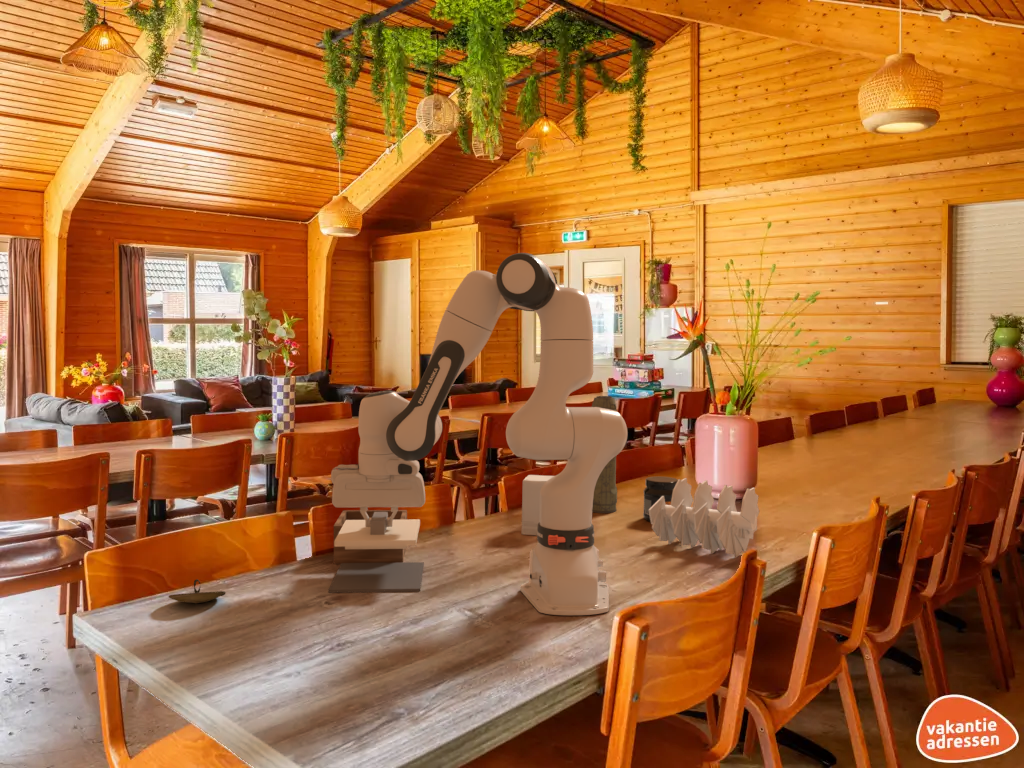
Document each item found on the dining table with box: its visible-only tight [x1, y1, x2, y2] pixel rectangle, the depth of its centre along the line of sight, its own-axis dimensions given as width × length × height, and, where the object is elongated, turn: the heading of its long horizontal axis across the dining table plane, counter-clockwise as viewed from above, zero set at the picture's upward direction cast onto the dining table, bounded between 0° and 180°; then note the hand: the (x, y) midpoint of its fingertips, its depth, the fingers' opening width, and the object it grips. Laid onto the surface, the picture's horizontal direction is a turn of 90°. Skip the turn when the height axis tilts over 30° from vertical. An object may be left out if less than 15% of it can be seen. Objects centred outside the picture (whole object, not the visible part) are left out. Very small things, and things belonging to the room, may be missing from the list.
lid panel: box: [333, 512, 421, 550], centre depth 176 cm, size 17×17×5 cm
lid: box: [168, 578, 227, 604], centre depth 158 cm, size 11×10×5 cm
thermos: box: [591, 395, 618, 514], centre depth 244 cm, size 9×12×35 cm
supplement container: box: [642, 476, 678, 523], centre depth 233 cm, size 10×10×12 cm
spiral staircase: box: [649, 477, 760, 559], centre depth 201 cm, size 18×18×25 cm
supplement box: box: [521, 474, 555, 536], centre depth 217 cm, size 9×9×15 cm
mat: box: [328, 561, 425, 594], centre depth 176 cm, size 19×19×1 cm
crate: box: [333, 509, 408, 565], centre depth 195 cm, size 16×16×9 cm
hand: (379, 526), depth 176 cm, fingers closed on lid panel, 3 cm apart
